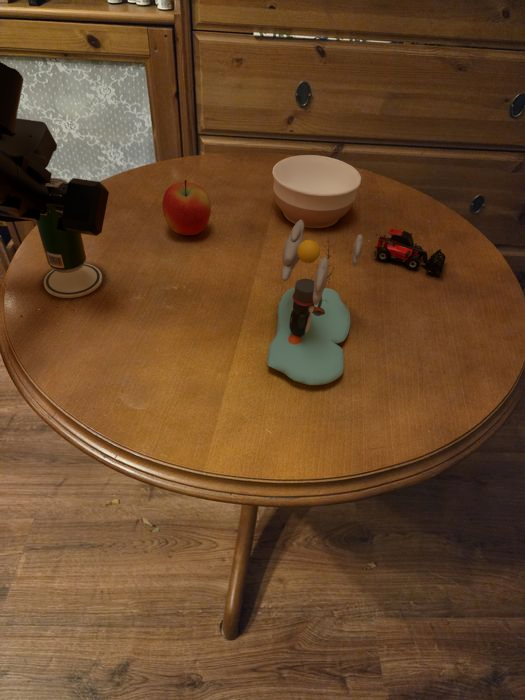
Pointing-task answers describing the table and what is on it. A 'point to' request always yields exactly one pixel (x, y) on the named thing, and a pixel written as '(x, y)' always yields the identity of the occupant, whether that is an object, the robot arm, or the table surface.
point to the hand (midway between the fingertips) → (63, 219)
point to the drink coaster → (73, 282)
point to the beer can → (60, 241)
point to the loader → (408, 252)
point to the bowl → (314, 189)
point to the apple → (186, 208)
